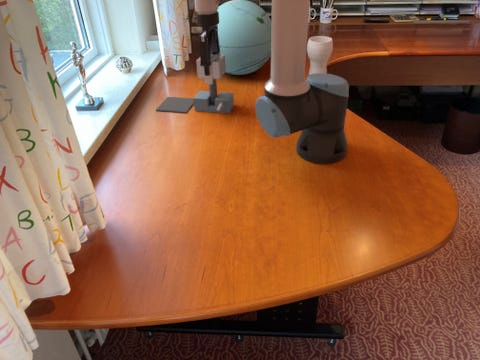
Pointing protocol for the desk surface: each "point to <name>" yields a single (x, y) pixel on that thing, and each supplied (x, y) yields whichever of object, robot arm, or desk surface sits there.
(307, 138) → the robot arm
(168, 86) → the desk surface
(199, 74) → the collar
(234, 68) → the globe
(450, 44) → the desk surface
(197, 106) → the vise
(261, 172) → the desk surface
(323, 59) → the cup
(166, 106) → the mat
